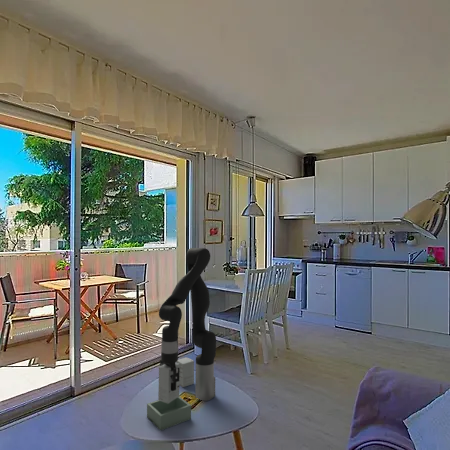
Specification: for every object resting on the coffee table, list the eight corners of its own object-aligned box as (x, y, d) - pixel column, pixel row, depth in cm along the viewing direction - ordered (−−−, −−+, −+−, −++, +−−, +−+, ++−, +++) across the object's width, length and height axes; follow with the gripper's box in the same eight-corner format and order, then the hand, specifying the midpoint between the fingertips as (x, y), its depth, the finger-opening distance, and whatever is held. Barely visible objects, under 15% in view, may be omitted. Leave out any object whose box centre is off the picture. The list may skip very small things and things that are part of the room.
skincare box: (168, 404, 149) (168, 369, 149) (157, 400, 152) (158, 366, 152) (180, 396, 156) (180, 363, 156) (169, 393, 159) (170, 360, 159)
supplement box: (186, 379, 194) (187, 356, 195) (194, 383, 189) (194, 360, 189) (175, 383, 190) (175, 359, 190) (182, 387, 184) (183, 363, 184)
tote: (176, 407, 164) (176, 394, 164) (190, 418, 153) (191, 405, 153) (146, 417, 154) (147, 403, 155) (160, 430, 144) (160, 416, 144)
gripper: (185, 352, 151) (184, 391, 151) (169, 344, 163) (168, 379, 162) (170, 356, 147) (169, 395, 146) (154, 347, 158) (154, 383, 158)
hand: (169, 387), depth 154 cm, fingers closed on skincare box, 7 cm apart
